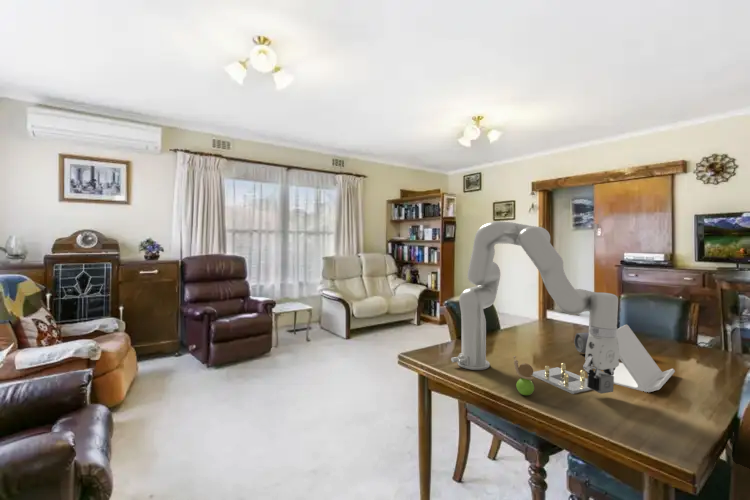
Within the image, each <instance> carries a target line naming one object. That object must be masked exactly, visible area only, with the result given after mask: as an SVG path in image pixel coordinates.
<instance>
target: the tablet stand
mask: <svg viewBox="0 0 750 500" xmlns="http://www.w3.org/2000/svg"><path fill="white" fill-rule="evenodd" d="M617 338H618V343H619V361H620V362H619V366H618V367H616V368H615V370H614V375H612V376H614V385H618V386H621V387H625V388H629V389H632V390H637V391H640V392H643V391H644V393H647V392H648V393H651V392H654V391H659V390H660V389H661V388H662V387H663V386H664V385H665V384H666V382H668V381H669V379H670V378H671V377H672V376H673V375H674V373H676V371H675V369H674V368H670V369H667V370H665V371H662V369H661V368H660V367H659V366H658V364H657V363H656V362H655V360H654V359H653V357H652V356H651V355H650V353H649V351H647V349H646V348H645V347H644V345H643V344H642V343H641V341H640V339H639V338H638V337H637V336H636V334H635V333H634V331H633V330H632V328H630V326H629V325H628V324H624V325H622V326H620V327H619V328H618V327H617Z"/></svg>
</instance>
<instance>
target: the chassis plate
mask: <svg viewBox="0 0 750 500" xmlns="http://www.w3.org/2000/svg"><path fill="white" fill-rule="evenodd" d="M579 373H580V375H579V374H576V373H574V372H571V371H568V370H566V363H565V362H561V363H560V367H558V366H557V367H550V366H549V365H545V366H544V369H540V370H535V371H533V374H532V375H531V376H532V377H533V378H536V379H538V380H541V381H543V382H545V383H546V384H547V383H548V384H549V385H551V386H553V387H556V388H558V389H561V390H563V391H565V392H567V393H570V394H572V395H574V394H578V393H583V392H587V391H592V389H590V388H588V387H587V381H588V377H586V371H585V369H580V371H579Z"/></svg>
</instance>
